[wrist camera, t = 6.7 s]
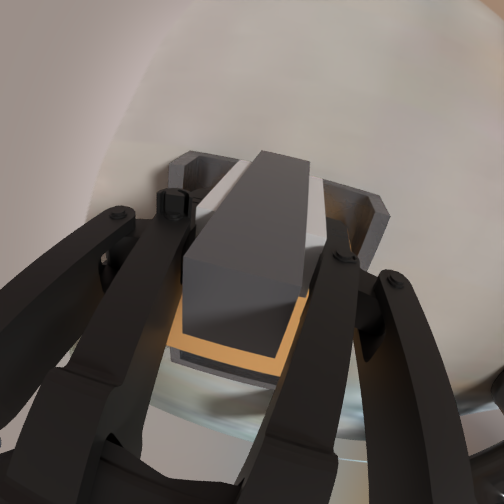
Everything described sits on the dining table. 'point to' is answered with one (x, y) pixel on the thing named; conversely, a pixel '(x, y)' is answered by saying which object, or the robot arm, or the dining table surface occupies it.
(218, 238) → the grey and orange block
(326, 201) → the bay
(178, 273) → the robot arm
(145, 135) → the dining table surface
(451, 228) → the dining table surface
